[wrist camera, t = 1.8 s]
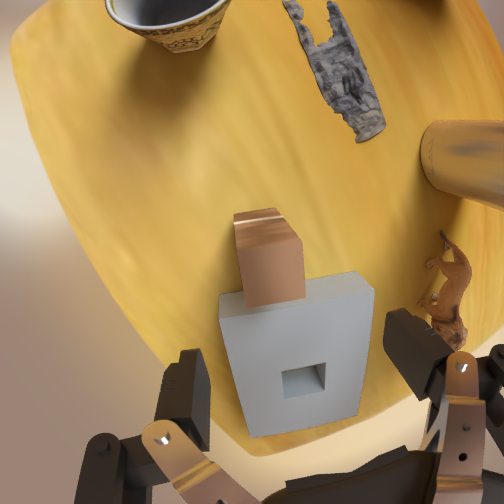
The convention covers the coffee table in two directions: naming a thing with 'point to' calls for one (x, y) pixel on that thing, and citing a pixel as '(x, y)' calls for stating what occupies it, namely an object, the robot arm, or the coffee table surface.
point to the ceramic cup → (170, 20)
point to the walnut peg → (269, 258)
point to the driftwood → (341, 73)
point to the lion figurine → (449, 297)
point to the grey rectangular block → (300, 354)
